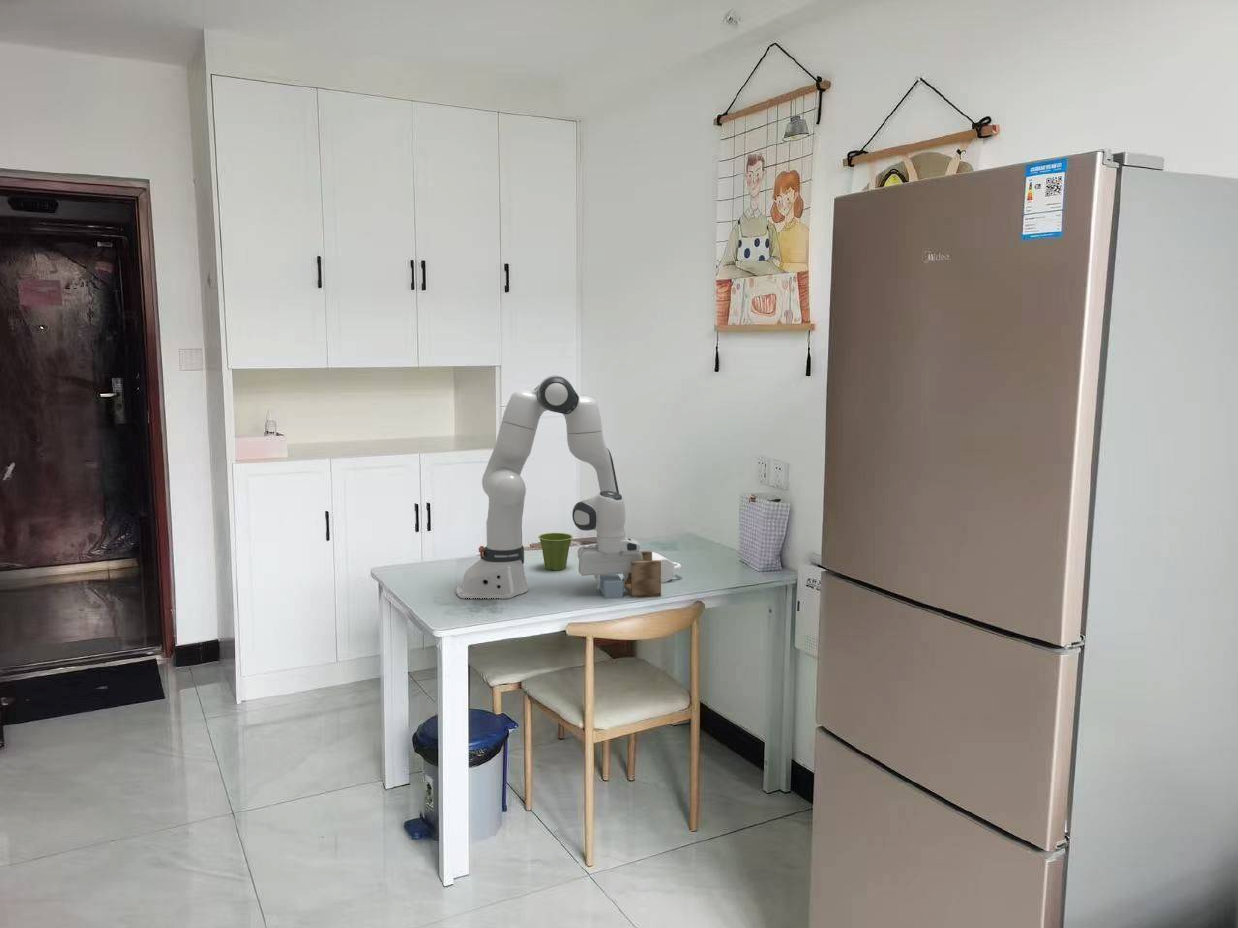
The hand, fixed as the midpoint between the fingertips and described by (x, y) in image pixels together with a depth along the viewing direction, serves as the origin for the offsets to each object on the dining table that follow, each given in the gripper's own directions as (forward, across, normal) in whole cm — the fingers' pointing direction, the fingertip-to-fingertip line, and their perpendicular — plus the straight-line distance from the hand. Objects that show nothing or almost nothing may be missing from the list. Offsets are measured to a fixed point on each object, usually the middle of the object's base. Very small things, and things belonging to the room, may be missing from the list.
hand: (611, 587), depth 281 cm
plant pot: (+2, -13, +34) cm, 36 cm away
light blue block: (+2, 0, 0) cm, 2 cm away
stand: (+2, +10, +1) cm, 10 cm away
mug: (+2, +20, +14) cm, 25 cm away
